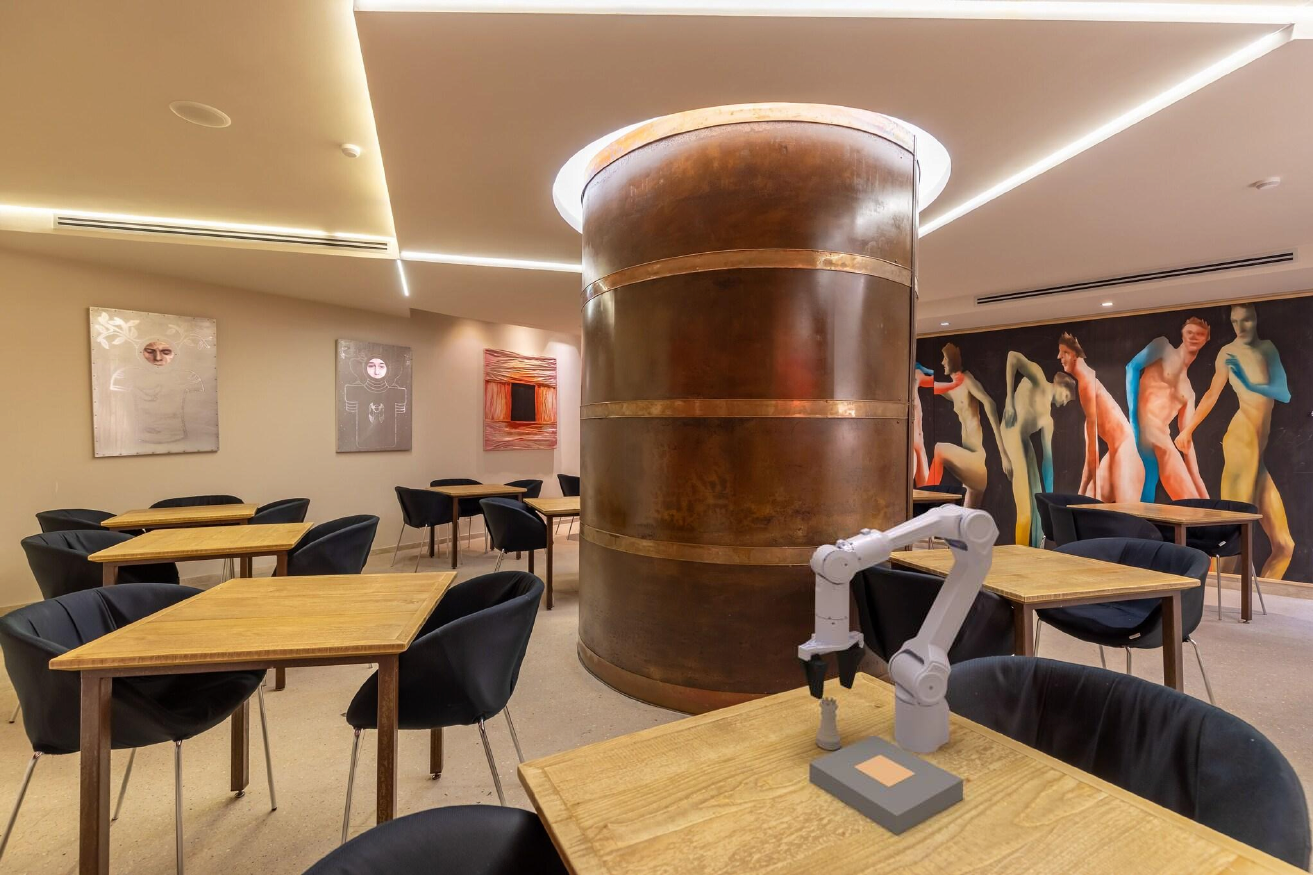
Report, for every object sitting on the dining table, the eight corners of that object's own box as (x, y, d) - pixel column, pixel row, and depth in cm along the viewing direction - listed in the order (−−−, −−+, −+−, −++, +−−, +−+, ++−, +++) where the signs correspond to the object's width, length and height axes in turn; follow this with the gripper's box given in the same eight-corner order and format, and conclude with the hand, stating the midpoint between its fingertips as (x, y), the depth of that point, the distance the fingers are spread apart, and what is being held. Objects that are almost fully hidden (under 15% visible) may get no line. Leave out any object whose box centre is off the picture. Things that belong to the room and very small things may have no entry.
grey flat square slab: (874, 751, 106) (874, 734, 106) (963, 798, 93) (963, 778, 93) (809, 781, 97) (809, 761, 97) (896, 837, 84) (897, 815, 84)
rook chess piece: (842, 752, 106) (843, 707, 106) (816, 750, 107) (816, 704, 107) (840, 739, 110) (840, 695, 110) (814, 737, 111) (814, 693, 111)
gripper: (841, 603, 114) (841, 674, 115) (785, 615, 107) (785, 692, 107) (873, 612, 109) (872, 688, 109) (816, 626, 101) (815, 708, 101)
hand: (831, 691), depth 107 cm, fingers open, 7 cm apart
